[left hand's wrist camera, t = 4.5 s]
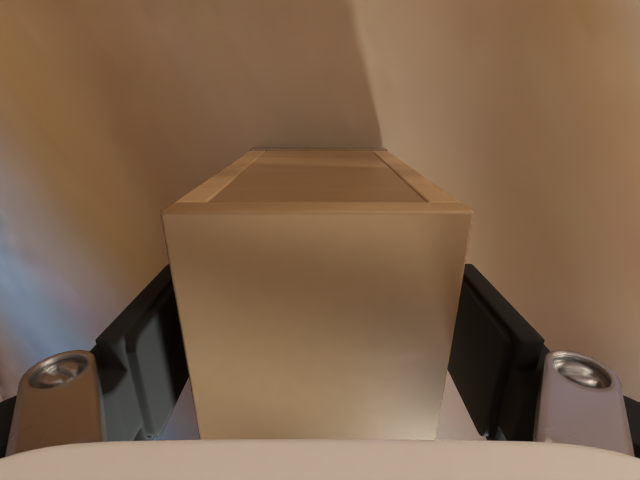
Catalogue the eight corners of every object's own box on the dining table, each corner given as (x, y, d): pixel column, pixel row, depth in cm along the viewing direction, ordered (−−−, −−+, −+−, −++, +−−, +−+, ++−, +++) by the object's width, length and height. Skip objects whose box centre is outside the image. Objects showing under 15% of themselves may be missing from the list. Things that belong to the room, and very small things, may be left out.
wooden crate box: (365, 437, 24) (397, 671, 14) (272, 437, 24) (239, 671, 14) (385, 147, 17) (476, 210, 7) (252, 147, 17) (158, 210, 7)
